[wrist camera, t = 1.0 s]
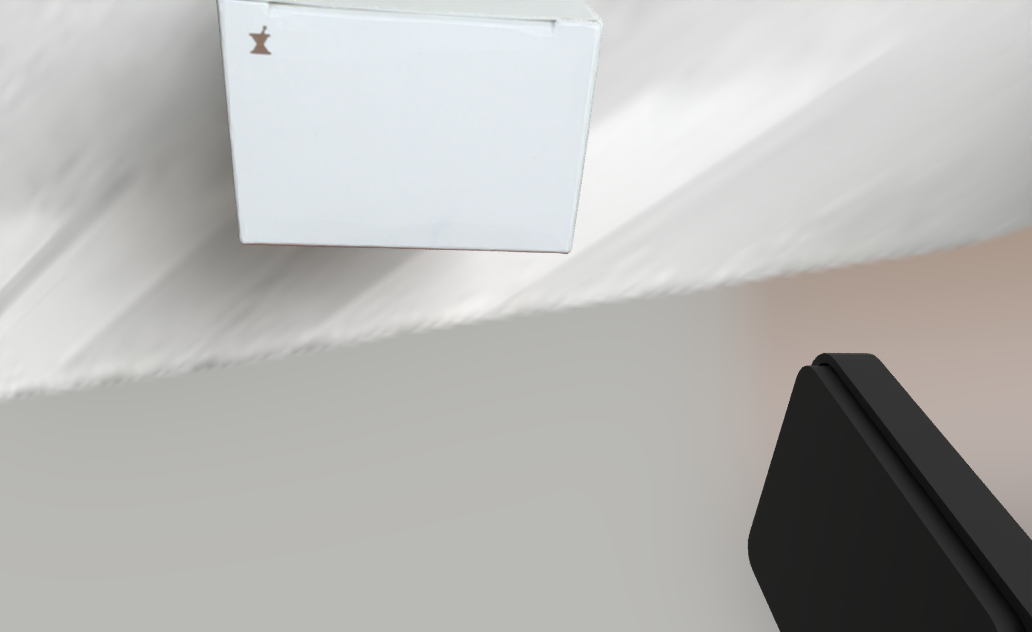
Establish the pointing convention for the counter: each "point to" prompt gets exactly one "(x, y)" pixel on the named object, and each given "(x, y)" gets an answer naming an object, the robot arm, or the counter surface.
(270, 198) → the small box
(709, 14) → the counter surface
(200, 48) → the counter surface
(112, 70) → the counter surface
